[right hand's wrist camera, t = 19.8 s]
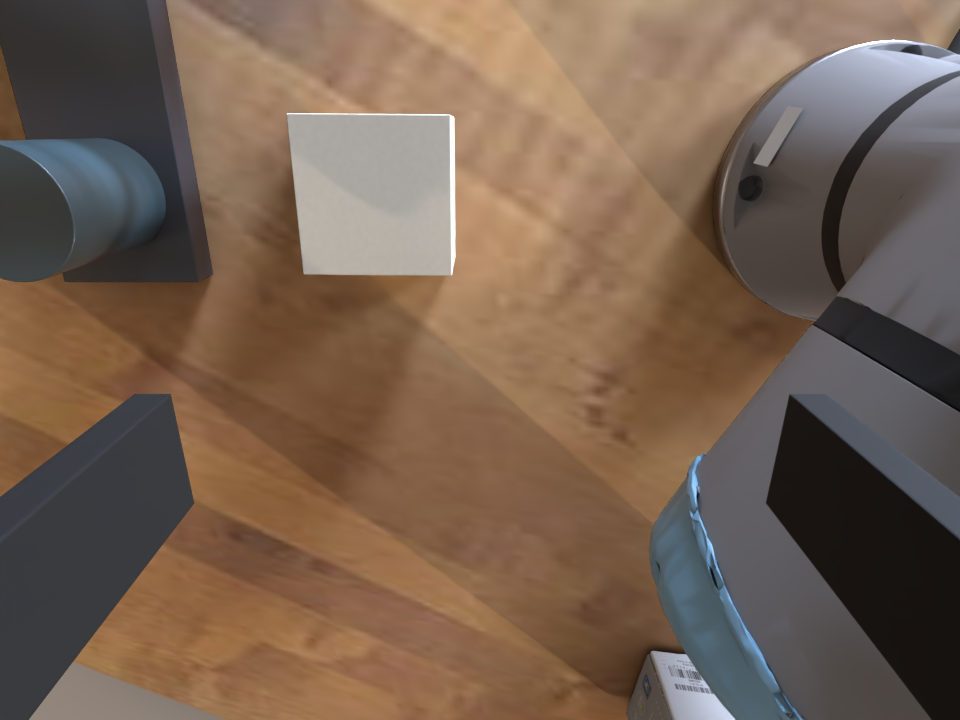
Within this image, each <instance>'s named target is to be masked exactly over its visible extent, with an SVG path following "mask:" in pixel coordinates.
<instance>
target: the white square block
mask: <svg viewBox="0 0 960 720" xmlns="http://www.w3.org/2000/svg"><path fill="white" fill-rule="evenodd" d="M286 116H287V125H288V134H289V144H290V153H291V163H292V172H293V181H294V191H295V200H296V210H297V219H298V229H299V238H300V247H301V257H302V266H303V274H304V275H417V276H452V272H453V267H454V261H455V133H454V117H453V116H451V115H433V114H314V113H287V114H286Z"/></svg>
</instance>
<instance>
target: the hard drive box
mask: <svg viewBox="0 0 960 720" xmlns="http://www.w3.org/2000/svg"><path fill="white" fill-rule="evenodd" d="M626 713H627V717H628V720H736V719H735V718H734V717H733V716H732V715H731V714H730V713H729V712H728V711H727V709H726V708H725V707H724V706H723V705H722V704H721V702H720V701H719V700H718V698H717V697H716V696H715V694H714V693H713V692H712V691H711V689H710V688H709V687H708V685H707V684H706V683H705V681H704V680H703V678H702V677H701V675H700V674H699V673H698V671H697V670H696V668H695V667H694V665H693V664H692V662H691V661H690V659H689V658H688V656H687V654H674V653H666V652H659V651H651V653H650V654H647V657H646V659H645V662H644V665H643V667H642V670H641V673H640V676H639V678H638V681H637V684H636V686H635V689H634V692H633V695H632V697H631V700H630V703H629V705H628V708H627V712H626Z"/></svg>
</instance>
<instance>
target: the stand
mask: <svg viewBox="0 0 960 720" xmlns="http://www.w3.org/2000/svg"><path fill="white" fill-rule="evenodd" d="M0 44H1V48H2V51H3V55H4V59H5V62H6V66H7V70H8V73H9V77H10V81H11V84H12V88H13V92H14V96H15V99H16V103H17V107H18V110H19V114H20V118H21V121H22V125H23V129H24V132H25V136H26V140H0V278H1V279H5V280H9V281H15V282H34V281H39V280H43V279H46V278H48V277H51V276H54V275H57V274H60V273H63V276H64V280H65V282H200V281H202V280H203V279H205V278H207V277H209V276H211V275H213V271H212V266H211V260H210V254H209V248H208V243H207V237H206V231H205V225H204V220H203V214H202V208H201V202H200V197H199V191H198V185H197V179H196V174H195V168H194V162H193V156H192V150H191V145H190V139H189V133H188V127H187V122H186V116H185V110H184V104H183V99H182V93H181V87H180V81H179V76H178V70H177V64H176V58H175V53H174V47H173V41H172V35H171V30H170V24H169V18H168V12H167V7H166V1H165V0H0Z"/></svg>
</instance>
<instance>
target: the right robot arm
mask: <svg viewBox="0 0 960 720" xmlns="http://www.w3.org/2000/svg"><path fill="white" fill-rule="evenodd" d="M713 223H714V229H715V235H716V239H717V243H718V246H719V249H720V252H721V254H722V257H723V259H724V261H725V263H726V265H727V267H728V268H729V270H730V271H731V273H732V274H733V276H734V277H735V278H736V279H737V280H738V281H739V283H740V284H741V285H742V286H743V287H744V288H745V289H747V290H748V291H749V292H750V293H751V294H753V295H754V296H755V297H757V298H758V299H760V300H762V301H763V302H765V303H767V304H768V305H770V306H772V307H773V308H775V309H777V310H779V311H781V312H784V313H786V314H788V315H791V316H795V317H798V318H802V319H807V320H812V321H816V322H815V323H813V325H814V326H813V325H811V326H810V327H809V328H808V330H807V331H806V332H805V333H804V335H803V336H802V337H801V338H800V339H799V341H798V342H797V343H796V344H795V346H794V347H793V348H792V349H791V351H790V352H789V353H788V354H787V356H786V357H785V358H784V359H783V360H782V362H781V363H780V364H779V365H778V367H777V368H776V369H775V370H774V372H773V373H772V374H771V375H770V377H769V378H768V379H767V380H766V381H765V383H764V384H763V385H762V386H761V388H760V389H759V390H758V391H757V393H756V394H755V395H754V396H753V398H752V399H751V400H750V401H749V402H748V404H747V405H746V406H745V407H744V409H743V410H742V411H741V412H740V414H739V415H738V416H737V417H736V419H735V420H734V421H733V422H732V423H731V425H730V426H729V427H728V428H727V430H726V431H725V432H724V433H723V435H722V436H721V437H720V438H719V440H718V441H717V442H716V443H715V444H714V446H713V447H712V448H711V449H710V450H709V452H708V453H705V454H703V455H701V456H697V457H696V458H695V459H694V461H693V462H692V463H691V465H690V467H689V469H688V473H687V477H686V479H685V480H684V482H683V483H682V484H681V486H680V487H679V488H678V490H677V491H676V493H675V494H674V495H673V497H672V498H671V500H670V501H669V502H668V504H667V505H666V506H665V508H664V509H663V511H662V512H661V513H660V515H659V517H658V518H657V520H656V522H655V524H654V527H653V530H652V533H651V539H650V548H649V554H650V563H651V570H652V575H653V578H654V580H655V583H656V585H657V588H658V589H657V591H658V597H659V600H660V603H661V606H662V608H663V610H664V613H665V615H666V617H667V619H668V621H669V623H670V625H671V627H672V629H673V631H674V633H675V635H676V637H677V639H678V641H679V643H680V644H681V646H682V648H683V649H684V651H685V653H686V654H687V656H688V658H689V659H690V661H691V662H692V664H693V665H694V667H695V668H696V670H697V671H698V673H699V674H700V675H701V677H702V678H703V680H704V681H705V683H706V684H707V685H708V687H709V688H710V689H711V691H712V692H713V693H714V694H715V696H716V697H717V698H718V700H719V701H720V702H721V704H722V705H723V706H724V707H725V708H726V709H727V711H728V712H729V713H730V714H731V715H732V716H733V717H734V718H735V719H736V720H960V29H959V31H958V33H957V34H956V36H955V38H954V39H953V41H952V43H951V44H950V46H949V48H948V49H947V50H946V49H943V48H940V47H937V46H933V45H929V44H925V43H918V42H911V41H903V40H886V41H877V42H870V43H865V44H861V45H856V46H851V47H847V48H842V49H839V50H836V51H833V52H830V53H827V54H824V55H822V56H820V57H817V58H815V59H813V60H811V61H809V62H807V63H805V64H803V65H801V66H800V67H798V68H797V69H795V70H794V71H792V72H791V73H789V74H787V75H786V76H785V77H784V78H782V79H781V80H780V81H778V82H777V83H776V84H775V85H774V86H773V87H771V88H770V89H769V90H768V91H767V92H766V93H765V94H764V95H763V96H762V97H761V98H760V99H759V100H758V101H757V103H756V104H755V105H754V106H753V107H752V108H751V110H750V111H749V112H748V114H747V115H746V116H745V117H744V119H743V120H742V122H741V123H740V125H739V127H738V128H737V130H736V131H735V133H734V135H733V137H732V139H731V140H730V142H729V144H728V147H727V149H726V151H725V154H724V156H723V159H722V162H721V165H720V167H719V171H718V175H717V179H716V183H715V190H714V197H713ZM193 504H194V500H193V495H192V491H191V486H190V481H189V477H188V472H187V467H186V463H185V458H184V454H183V449H182V444H181V440H180V435H179V430H178V426H177V421H176V417H175V412H174V407H173V403H172V398H171V394H134V395H133V396H131V397H130V398H129V399H128V400H126V401H125V402H124V403H122V404H121V405H120V406H118V407H117V408H116V409H114V410H113V411H112V412H111V413H109V414H108V415H107V416H105V417H104V418H103V419H101V420H100V421H99V422H97V423H96V424H95V425H94V426H92V427H91V428H90V429H88V430H87V431H86V432H84V433H83V434H82V435H81V436H79V437H78V438H77V439H75V440H74V441H73V442H71V443H70V444H69V445H67V446H66V447H65V448H64V449H62V450H61V451H60V452H58V453H57V454H56V455H54V456H53V457H52V458H50V459H49V460H48V461H47V462H45V463H44V464H43V465H41V466H40V467H39V468H37V469H36V470H35V471H34V472H32V473H31V474H30V475H28V476H27V477H26V478H24V479H23V480H22V481H20V482H19V483H18V484H17V485H15V486H14V487H13V488H11V489H10V490H9V491H7V492H6V493H5V494H3V495H2V496H1V497H0V720H29V718H30V717H31V716H32V714H33V713H34V712H35V711H36V709H37V708H38V707H39V705H40V704H41V703H42V701H43V700H44V699H45V698H46V696H47V695H48V694H49V692H50V691H51V690H52V688H53V687H54V686H55V684H56V683H57V682H58V680H59V679H60V678H61V677H62V675H63V674H64V673H65V671H66V670H67V669H68V667H69V666H70V665H71V664H72V662H73V661H74V660H75V658H76V657H77V656H78V654H79V653H80V652H81V650H82V649H83V648H84V647H85V645H86V644H87V643H88V641H89V640H90V639H91V637H92V636H93V635H94V633H95V632H96V631H97V630H98V628H99V627H100V626H101V624H102V623H103V622H104V620H105V619H106V618H107V616H108V615H109V614H110V613H111V611H112V610H113V609H114V607H115V606H116V605H117V603H118V602H119V601H120V599H121V598H122V597H123V596H124V594H125V593H126V592H127V590H128V589H129V588H130V586H131V585H132V584H133V582H134V581H135V580H136V579H137V577H138V576H139V575H140V573H141V572H142V571H143V569H144V568H145V567H146V566H147V564H148V563H149V562H150V560H151V559H152V558H153V556H154V555H155V554H156V552H157V551H158V550H159V549H160V547H161V546H162V545H163V543H164V542H165V541H166V539H167V538H168V537H169V535H170V534H171V533H172V532H173V530H174V529H175V528H176V526H177V525H178V524H179V522H180V521H181V520H182V518H183V517H184V516H185V515H186V513H187V512H188V511H189V509H190V508H191V507H192V505H193Z"/></svg>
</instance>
